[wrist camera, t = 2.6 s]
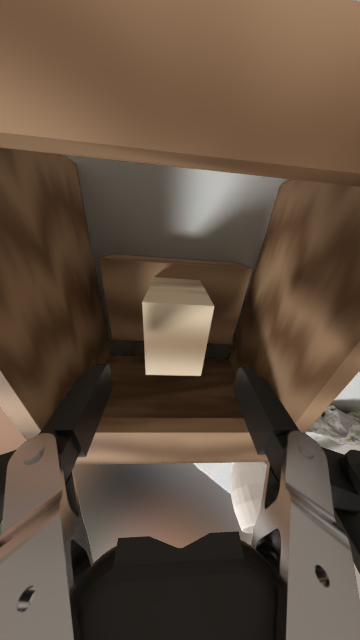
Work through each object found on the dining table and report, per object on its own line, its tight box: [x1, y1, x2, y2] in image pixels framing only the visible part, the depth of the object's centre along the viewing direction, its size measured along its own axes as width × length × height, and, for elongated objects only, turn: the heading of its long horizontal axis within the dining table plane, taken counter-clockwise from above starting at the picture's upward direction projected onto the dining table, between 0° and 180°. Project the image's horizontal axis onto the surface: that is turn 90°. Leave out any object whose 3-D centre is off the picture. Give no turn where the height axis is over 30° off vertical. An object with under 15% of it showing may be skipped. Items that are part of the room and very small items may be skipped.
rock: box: [307, 405, 360, 445], centre depth 35 cm, size 16×7×7 cm, turn 85°
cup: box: [231, 462, 267, 533], centre depth 35 cm, size 11×11×15 cm
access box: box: [0, 0, 360, 464], centre depth 16 cm, size 26×24×14 cm
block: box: [142, 277, 214, 376], centre depth 16 cm, size 7×5×7 cm
